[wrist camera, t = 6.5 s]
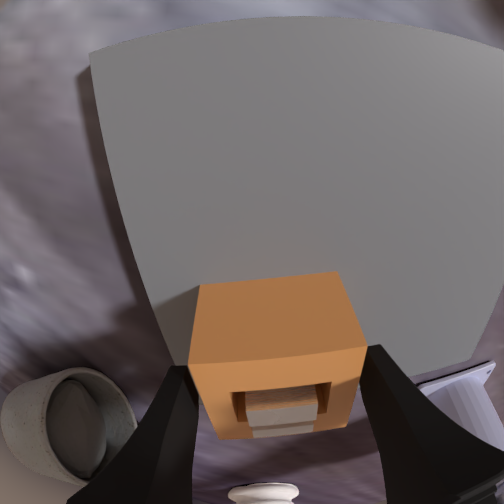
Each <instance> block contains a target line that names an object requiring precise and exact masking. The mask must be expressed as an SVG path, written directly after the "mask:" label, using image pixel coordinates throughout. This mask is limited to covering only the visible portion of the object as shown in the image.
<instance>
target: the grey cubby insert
mask: <svg viewBox="0 0 504 504" xmlns="http://www.w3.org/2000/svg"><path fill="white" fill-rule="evenodd" d="M245 400H246V414H247V418H248V422H249V426H250V427H255V426H268V425H278V424H288V423H296V422H304V421H312V420H316V417H317V409H318V400H317V395H316V390H315V385H314V384H311V385H304V386H296V387H287V388H277V389H267V390H255V391H245Z"/></svg>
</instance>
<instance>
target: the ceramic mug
mask: <svg viewBox="0 0 504 504" xmlns="http://www.w3.org/2000/svg"><path fill="white" fill-rule="evenodd" d="M0 421H1V422H0V423H1V429H2V434H3V437H4V440H5V442H6V444H7V446H8V448H9V449H10V450H11V452H12V453H13V455H14V456H15V457H16V458H17V459H18V460H19V461H20V462H22V463H23V464H24V465H25V466H27V467H28V468H29V469H31V470H33V471H35V472H37V473H39V474H42V475H44V476H47V477H51V478H55V479H58V480H61V481H64V482H68V483H72V484H75V485H78V486H82V487H84V486H86V485H87V484H88V483H89V482H90V481H91V480H92V479H93V478H94V477H96V476H97V475H98V474H99V473H100V472H101V471H102V470H103V469H104V468H105V467H106V466H107V465H108V464H109V462H110V461H111V460H112V459H113V458H114V457H115V456H116V454H117V453H118V452H119V451H120V450H121V448H122V447H123V446H124V445H125V443H126V442H127V441H128V439H129V438H130V436H131V435H132V434H133V432H134V431H135V429H136V428H137V421H136V418H135V415H134V412H133V409H132V407H131V405H130V403H129V401H128V399H127V398H126V396H125V395H124V394H123V392H122V391H121V389H120V388H119V387H118V386H117V385H116V384H115V383H114V382H113V381H112V380H111V379H109V378H108V377H107V376H105V375H104V374H103V373H101V372H99V371H96V370H94V369H90V368H86V367H77V368H69V369H66V370H63V371H60V372H58V373H54V374H50V375H47V376H44V377H42V378H39V379H35V380H31V381H28V382H25V383H22V384H21V385H19V386H17V387H16V388H15V389H14V390H13V391H11V392H10V393H9V394H8V396H7V397H6V399H5V401H4V403H3V405H2V409H1V415H0Z"/></svg>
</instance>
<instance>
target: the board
mask: <svg viewBox="0 0 504 504" xmlns="http://www.w3.org/2000/svg"><path fill="white" fill-rule="evenodd" d="M89 59H90V67H91V74H92V81H93V87H94V93H95V99H96V105H97V111H98V116H99V121H100V126H101V131H102V136H103V141H104V146H105V150H106V155H107V159H108V163H109V168H110V172H111V176H112V180H113V184H114V188H115V192H116V195H117V199H118V203H119V207H120V210H121V214H122V217H123V221H124V224H125V228H126V231H127V234H128V238H129V241H130V244H131V247H132V251H133V254H134V257H135V260H136V263H137V266H138V269H139V272H140V275H141V278H142V281H143V284H144V287H145V289H146V292H147V295H148V298H149V301H150V303H151V306H152V309H153V311H154V314H155V317H156V319H157V322H158V325H159V327H160V330H161V332H162V335H163V337H164V340H165V342H166V345H167V347H168V350H169V352H170V354H171V357H172V359H173V361H174V364H175V366H178V365H187V367H188V369H189V366H188V359H189V352H190V345H191V339H192V332H193V326H194V319H195V313H196V307H197V300H198V294H199V288H200V285H203V284H215V283H226V282H237V281H247V280H258V279H268V278H278V277H287V276H297V275H306V274H316V273H325V272H334V271H337V272H338V274H339V276H340V279H341V281H342V283H343V286H344V288H345V290H346V293H347V295H348V298H349V300H350V302H351V305H352V307H353V310H354V312H355V315H356V317H357V320H358V322H359V325H360V327H361V330H362V332H363V335H364V337H365V340H366V342H367V345H368V346H372V345H378V344H381V345H382V346H383V348H384V349H385V350H386V351H387V353H388V354H389V355H390V356H391V358H392V359H393V360H394V361H395V362H396V364H397V365H398V366H399V367H400V368H401V370H402V371H403V372H404V373H405V374H406V375H407V377H411V376H415V375H419V374H422V373H426V372H430V371H433V370H437V369H440V368H444V367H447V366H450V365H453V364H457V363H460V362H463V361H466V360H469V359H470V358H471V356H472V354H473V352H474V350H475V348H476V346H477V344H478V342H479V340H480V338H481V336H482V334H483V331H484V329H485V327H486V325H487V323H488V321H489V318H490V316H491V314H492V311H493V309H494V307H495V304H496V302H497V299H498V297H499V294H500V292H501V289H502V287H503V284H504V51H503V50H500V49H498V48H495V47H492V46H489V45H486V44H483V43H479V42H476V41H473V40H470V39H466V38H462V37H459V36H455V35H451V34H447V33H443V32H439V31H434V30H430V29H425V28H420V27H415V26H409V25H403V24H397V23H390V22H383V21H375V20H365V19H355V18H340V17H314V16H292V17H266V18H251V19H240V20H231V21H222V22H215V23H208V24H202V25H195V26H190V27H184V28H179V29H174V30H169V31H165V32H160V33H156V34H152V35H148V36H144V37H140V38H136V39H132V40H129V41H125V42H122V43H118V44H115V45H112V46H109V47H106V48H103V49H100V50H97V51H94V52H91V53H89ZM189 372H190V374H191V371H190V369H189ZM191 377H192V379H193V376H192V374H191ZM193 382H194V379H193ZM194 384H195V382H194ZM195 387H196V384H195ZM357 388H360V385H359V383H358V387H357ZM196 389H197V387H196ZM197 392H198V394H199V391H198V389H197ZM199 405H203V401H202V399H201V396H200V394H199Z"/></svg>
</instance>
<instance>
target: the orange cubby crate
mask: <svg viewBox="0 0 504 504" xmlns="http://www.w3.org/2000/svg"><path fill="white" fill-rule="evenodd" d="M367 347H368V345H367V342H366V340H365V337H364V335H363V332H362V330H361V327H360V325H359V322H358V320H357V317H356V315H355V312H354V310H353V307H352V305H351V302H350V300H349V298H348V295H347V293H346V290H345V288H344V286H343V283H342V281H341V279H340V276H339V274H338V272H337V271H334V272H325V273H316V274H306V275H297V276H287V277H278V278H268V279H258V280H247V281H237V282H226V283H215V284H203V285H200V288H199V294H198V300H197V307H196V313H195V319H194V326H193V332H192V339H191V345H190V352H189V359H188V366H189V369H190V371H191V374H192V376H193V379H194V382H195V384H196V387H197V389H198V391H199V394H200V396H201V399H202V401H203V404H204V406H205V408H206V411H207V413H208V415H209V418H210V420H211V422H212V425H213V427H214V429H215V431H216V434H217V436H218V438H219V440H225V439H248V438H263V437H275V436H285V435H294V434H302V433H309V432H316V431H323V430H329V429H335V428H341V427H346V425H347V422H348V419H349V415H350V412H351V409H352V405H353V402H354V398H355V395H356V391H357V387H358V383H359V380H360V376H361V372H362V368H363V364H364V360H365V356H366V351H367ZM311 384H314V385H315V390H316V395H317V400H318V409H317V417H316V420H312V421H304V422H296V423H288V424H278V425H268V426H255V427H250V426H249V422H248V418H247V414H246V400H245V391H255V390H267V389H277V388H287V387H296V386H304V385H311Z"/></svg>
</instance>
